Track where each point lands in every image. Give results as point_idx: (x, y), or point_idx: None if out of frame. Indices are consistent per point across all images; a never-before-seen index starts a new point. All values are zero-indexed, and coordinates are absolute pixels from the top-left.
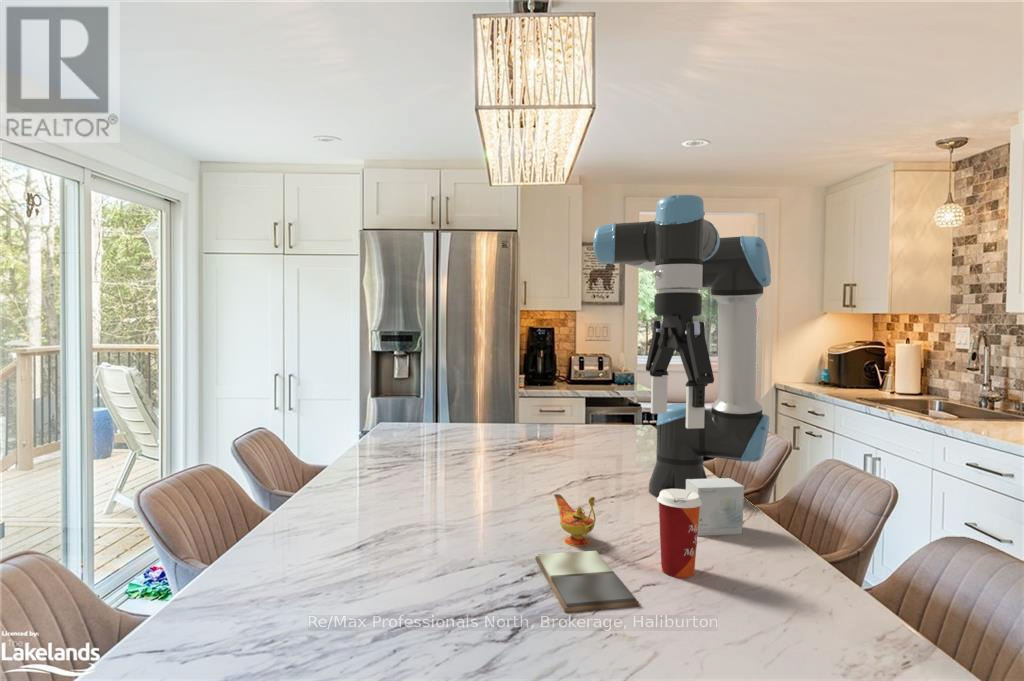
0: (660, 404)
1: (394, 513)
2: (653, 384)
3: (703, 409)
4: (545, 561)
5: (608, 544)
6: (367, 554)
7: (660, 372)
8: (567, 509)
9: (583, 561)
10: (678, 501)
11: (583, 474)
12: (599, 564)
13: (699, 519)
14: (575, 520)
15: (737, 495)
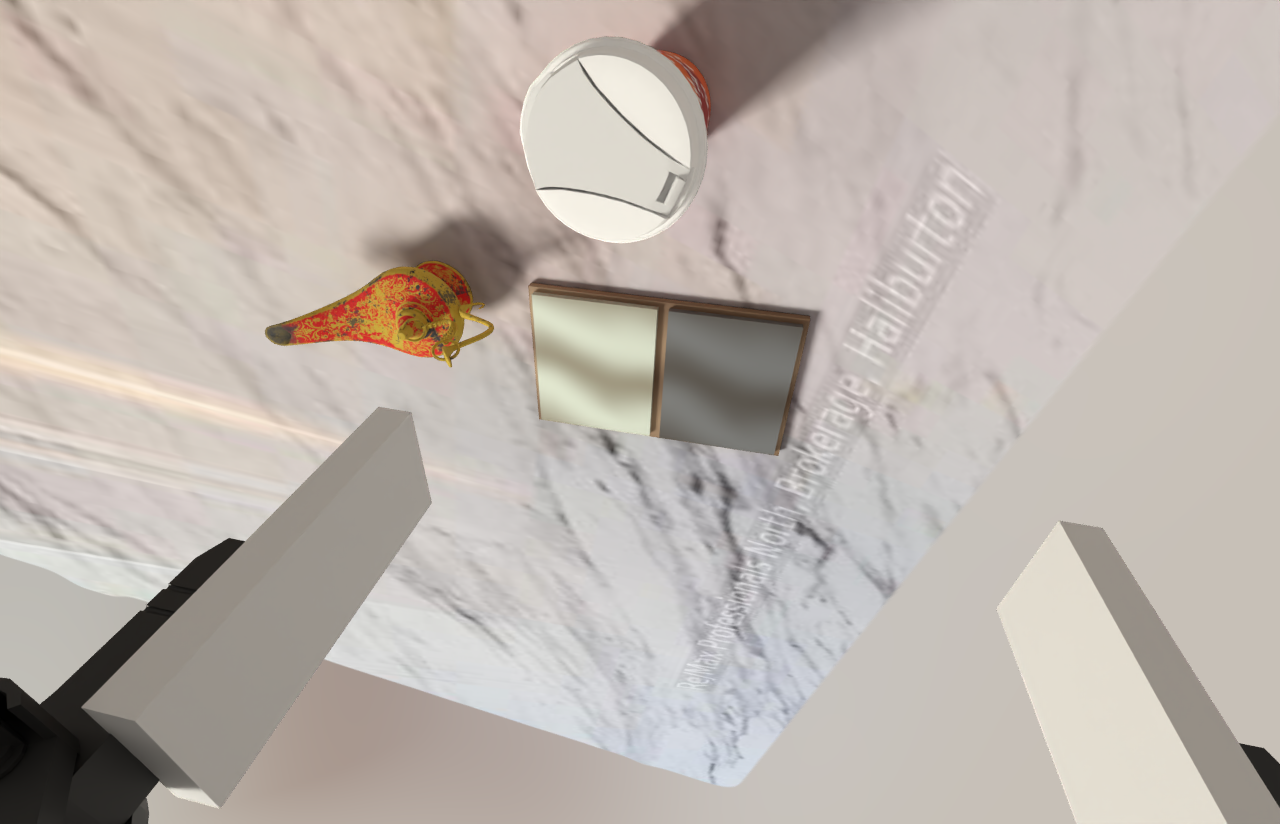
0: (382, 507)
1: None
2: (282, 717)
3: (1191, 686)
4: (579, 419)
5: (460, 220)
6: (498, 614)
7: (71, 806)
8: (347, 322)
9: (592, 349)
10: (676, 201)
11: None
12: (614, 322)
13: None
14: (431, 335)
15: None
